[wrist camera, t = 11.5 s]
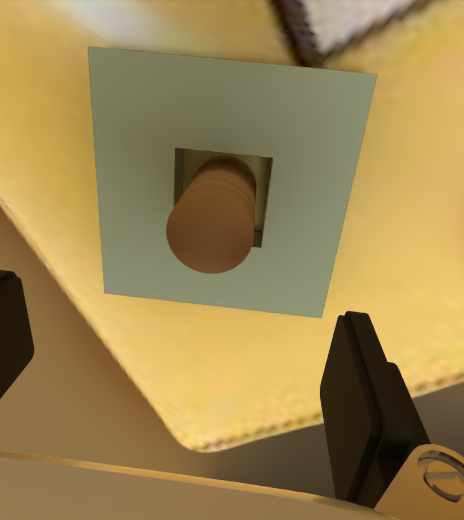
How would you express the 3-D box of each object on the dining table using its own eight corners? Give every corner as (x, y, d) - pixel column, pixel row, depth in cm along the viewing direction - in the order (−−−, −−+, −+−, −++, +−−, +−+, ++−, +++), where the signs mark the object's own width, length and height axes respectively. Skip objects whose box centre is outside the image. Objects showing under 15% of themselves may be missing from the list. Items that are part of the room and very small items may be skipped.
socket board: (107, 49, 24) (87, 46, 21) (364, 74, 24) (377, 74, 21) (118, 274, 31) (104, 293, 28) (316, 296, 31) (321, 318, 28)
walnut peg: (196, 152, 27) (166, 187, 18) (259, 159, 26) (258, 197, 18) (193, 213, 28) (165, 268, 20) (252, 219, 28) (248, 278, 20)
